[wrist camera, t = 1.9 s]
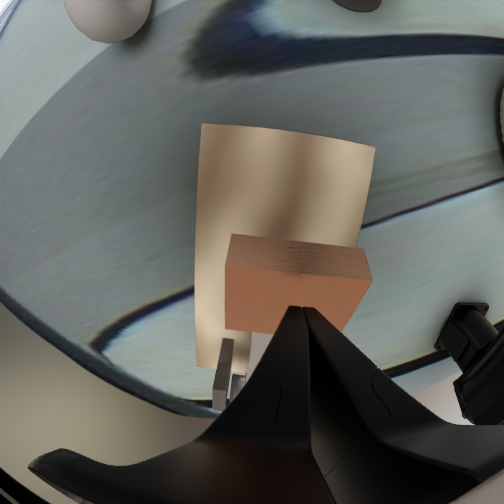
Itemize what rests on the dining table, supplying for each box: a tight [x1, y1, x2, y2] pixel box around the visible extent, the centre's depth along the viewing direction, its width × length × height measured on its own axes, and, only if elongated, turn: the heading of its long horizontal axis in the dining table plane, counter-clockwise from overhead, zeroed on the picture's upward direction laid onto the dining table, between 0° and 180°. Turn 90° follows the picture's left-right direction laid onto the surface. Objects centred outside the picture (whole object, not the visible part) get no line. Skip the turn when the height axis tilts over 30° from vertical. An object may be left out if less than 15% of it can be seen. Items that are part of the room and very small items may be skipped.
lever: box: [225, 233, 372, 402], centre depth 15 cm, size 5×17×2 cm, turn 174°
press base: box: [195, 124, 375, 411], centre depth 19 cm, size 12×22×8 cm, turn 174°
